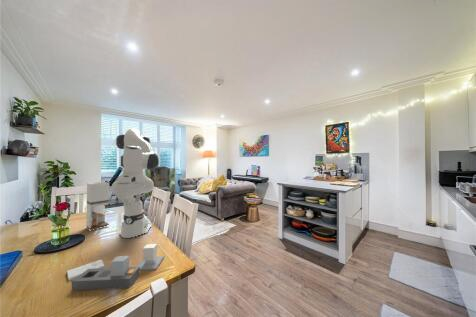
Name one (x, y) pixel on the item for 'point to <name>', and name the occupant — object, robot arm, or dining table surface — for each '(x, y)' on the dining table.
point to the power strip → (104, 279)
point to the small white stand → (97, 204)
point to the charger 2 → (149, 253)
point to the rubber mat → (150, 266)
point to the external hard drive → (84, 269)
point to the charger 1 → (120, 266)
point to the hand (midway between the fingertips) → (132, 204)
